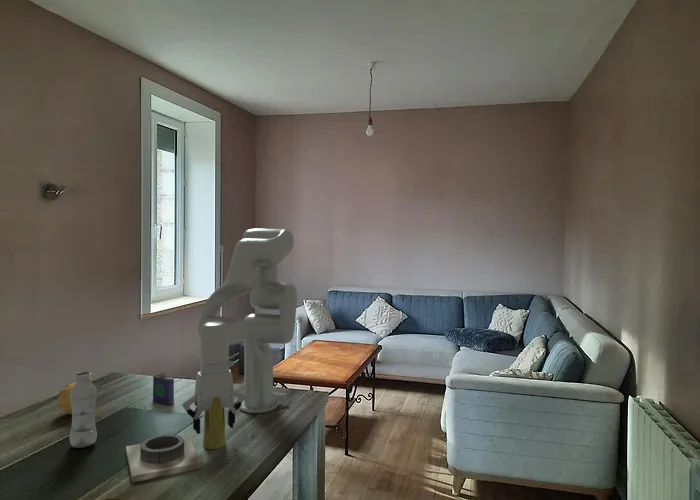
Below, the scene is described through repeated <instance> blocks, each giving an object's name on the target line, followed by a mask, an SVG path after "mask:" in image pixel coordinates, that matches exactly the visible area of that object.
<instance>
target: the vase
mask: <svg viewBox="0 0 700 500" xmlns="http://www.w3.org/2000/svg"><path fill="white" fill-rule="evenodd" d="M220 398H221V397H214V398H213V402H212V408H211V409H210V410H207V411H204V422H203V423H204V425H203V426H204V427H203V443H202V446H203V448H204V449H206V450H218V449H221V448H224V447H225V446H226V445H227V443H226V441H227V440H226V422H225V420H226V419H225V408H223V407H222V406H221V405H220Z"/></svg>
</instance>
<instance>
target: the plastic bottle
mask: <svg viewBox="0 0 700 500" xmlns="http://www.w3.org/2000/svg"><path fill="white" fill-rule="evenodd" d="M91 375H92V373H91V371H80V372H77V373H75V379H74V382H75V383H76V384H75V385H74V387H73V388H72V390H71V392H70V400H71V406H72V415H71V417H72V418H71V428H70V432H69V444H70V445H71V446H72V448H77V449H79V448H80V449H82V448H87V447H89V446H92V445H94V444H95V442H96V441H97V436H98V432H97V431H98V430H97V427H96V417H95V415H96V414H95V412H96V411H95V410H96V401H97V394H98V389H97V388H96V386H95V385H94V383H92V376H91Z"/></svg>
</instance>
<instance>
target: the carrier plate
mask: <svg viewBox="0 0 700 500" xmlns="http://www.w3.org/2000/svg"><path fill="white" fill-rule="evenodd" d="M125 453H126V459H127V463H128V465H127V466H128V470H129V475H130V479H131V480H130V481H131V483H136V482H141V481H147V480H150V479H155V478H160V477H165V476H171V475H174V474H175V475H176V474H180V473H184V472H189V471H194V470H200V469H202V461H201V459H200V456H199V454H198V452H197V451H196V448H195V446H194V445H193V443H192V441H191V439H190V436H189V435H183V436H181V435H178V434H174V433H173V434H170V433H169V434H168V433H166V434H165V433H164V434H159V435H158V434H157V435H154V436H151V437H149V438H146V439H144V440H143V441H142V442H141V443H137V444H132V445H126V446H125Z"/></svg>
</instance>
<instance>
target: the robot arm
mask: <svg viewBox="0 0 700 500" xmlns="http://www.w3.org/2000/svg"><path fill="white" fill-rule="evenodd" d="M294 242H295V239H294V235H293V233H292V232H291V231H290V230H289V229H285V228H261V227H259V228H250V229H247V230H245V231H244V232H243V234H242V239H240V240H238V241H237V242H236V244H235V247H234V249H233V253H232V257H231V261H230V265H229V268H228V270H227V271H228V272H227V276H226V279H225V281H224V283H223V284H222V285H220V286H219V287H217V288H216V289H215V290H214V292H213V293H211V295H210V296H209V297H208V298H207V300H206V301H205V303H204V304H203V307H202V310H201V314H200V317H199V321H198V327H197V328H198V329H197V332H198V336H199V338H200V371H198V372H197V373H196V374H197V375H196V378H195V387H194V395H193V396H190V398H188V399H187V400H185V401H183V403H182V408H184V409H183V410H184V411H185V412H186V413H187V414H188V415H189V416H190V417H191V418H192V419H193V421H192V428H193V430H194V431H195V432H196V434H198V435H199V434H200V433H201V418H200V416H201V415H202V413H203V412H205V411H207V410H210V409H211V408H212V402H213V398H214V397H221V398H220V405H221V406H222V407H223V408H224V409H225V408H228V409H229V410H228V411H227V425H228V426H229V428H230V429H233V428H234V424H236V414H237V411H238V410H241V411H242V412H245V413H249V414H261V413H262V414H263V413H268V412H271V411H273V410H275V409H277V407H278V401H279V400H286V399H287V397H288V395H287V393H286V392H282V393H281V392H280V391H278V392H274V353H273V350H272V348H271V346H270V345H269V344H277V345H278V344H279V345H280V344H282V345H286V344H289V343H290V342H292V340H293V338H294V335H295V330H296V329H295V327H296V319H297V317H296V315H297V303H298V292H297V289H296V286H295V285H294V284H292V283H291V282H285V281H278V272H279V271H278V265H279V264H280V263H281V262H282V261H283V260H284V259H285V258H286V257H287V256H289V254H290V253H291V251H292V250H293V247H294ZM246 294H249V304H250V305H251V307H252V308H254V309H258V310H265V311H266V310H268V311H279V314H276V313H274V314H273V313H262V312H258V313H257V312H256V313H255V312H254V313H250V314H247V315H246V316H245V317H244V318H240V317H231V316H230V317H229V316H221V315H218V313H219V311H220V310H221V308H222V307H223V306H224V305H225V304H227V303H228V302H230V301H232V300H234V299H237V298H239V297H242V296H244V295H246ZM242 342H243V346H244V348H243V349H244V354H243V355H244V365H243V366H244V372H243V373H244V375H243V377H244V379H243V381H244V382H243V383H244V385H243V387H244V388H243V390H244V391H243V393H240V392H239V391H236V390H235V388H234V382H233V374H232V370H231V369H230V368H231V367H234V366H235V361H234V360H230V346H233V345H238V344H241V343H242ZM235 398H238V399H237V401H236V402H235ZM234 402H235V403H234ZM192 404H194V406H195V408H194V410H193V409H192V408H191V407H190V406H191V405H192Z"/></svg>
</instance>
